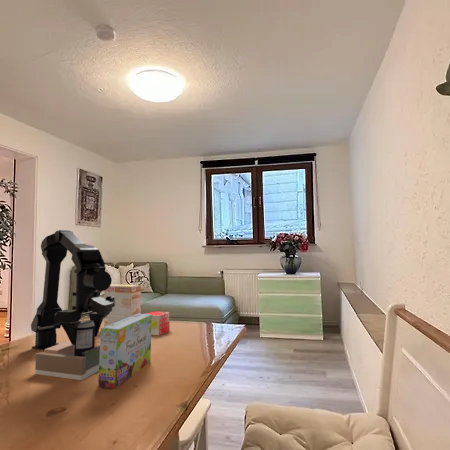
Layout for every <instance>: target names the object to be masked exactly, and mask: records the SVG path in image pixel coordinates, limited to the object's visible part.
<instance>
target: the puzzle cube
mask: <svg viewBox="0 0 450 450" xmlns="http://www.w3.org/2000/svg"><path fill="white" fill-rule="evenodd" d="M146 314H152V324H151V335H154V336H155V335H156V336H161V335H163V334H165V333H168V332H170V314H171V313H170V312H169V311H156V310H155V311H150V312H148V313H146Z"/></svg>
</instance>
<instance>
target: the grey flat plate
mask: <svg viewBox="0 0 450 450" xmlns="http://www.w3.org/2000/svg"><path fill="white" fill-rule="evenodd" d="M82 357H86V370H88V369H90V368H92V367H94V366H96V365H98V364H99V357H100V344H99V345H97V346H95V348H92V349H90V350H87V351H85V352H83V353H82Z"/></svg>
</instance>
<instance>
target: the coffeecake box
mask: <svg viewBox="0 0 450 450" xmlns="http://www.w3.org/2000/svg"><path fill="white" fill-rule="evenodd" d="M141 293H142V285H141V284H126V283H125V284H124V283H122V284H121V283H111V285H110V287H109V288H108V289H106V290H104V297H105V298H106V297H107V296H113V297H114V298H115V307H112V311H111V312H110V313H109V315H107V316H106V317H105V318H104V319H103V321H104V322H103V327H105V326H108V325H110V324H113V323H115V322H118V321H120V320H123V319H125V318H128V317H131V316H133V315H136V314H142V313H141V311H142V310H141V308H142V304H141V303H142V302H141V301H142V294H141Z"/></svg>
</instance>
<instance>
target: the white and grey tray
mask: <svg viewBox="0 0 450 450" xmlns="http://www.w3.org/2000/svg"><path fill="white" fill-rule="evenodd" d="M96 373H99V364H98V365H96V366H94V367H92V368H90V369H88V370H86V357H80V356H71V355H62V354H53V353H44V352H43V351H42V352H41V351H40V352H37V353H35V375H40V376H41V375H42V376H47V377H56V378H63V379H69V380H76V381H83V380H85V379H87V378H88V377H91V376H92V375H94V374H96Z"/></svg>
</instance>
